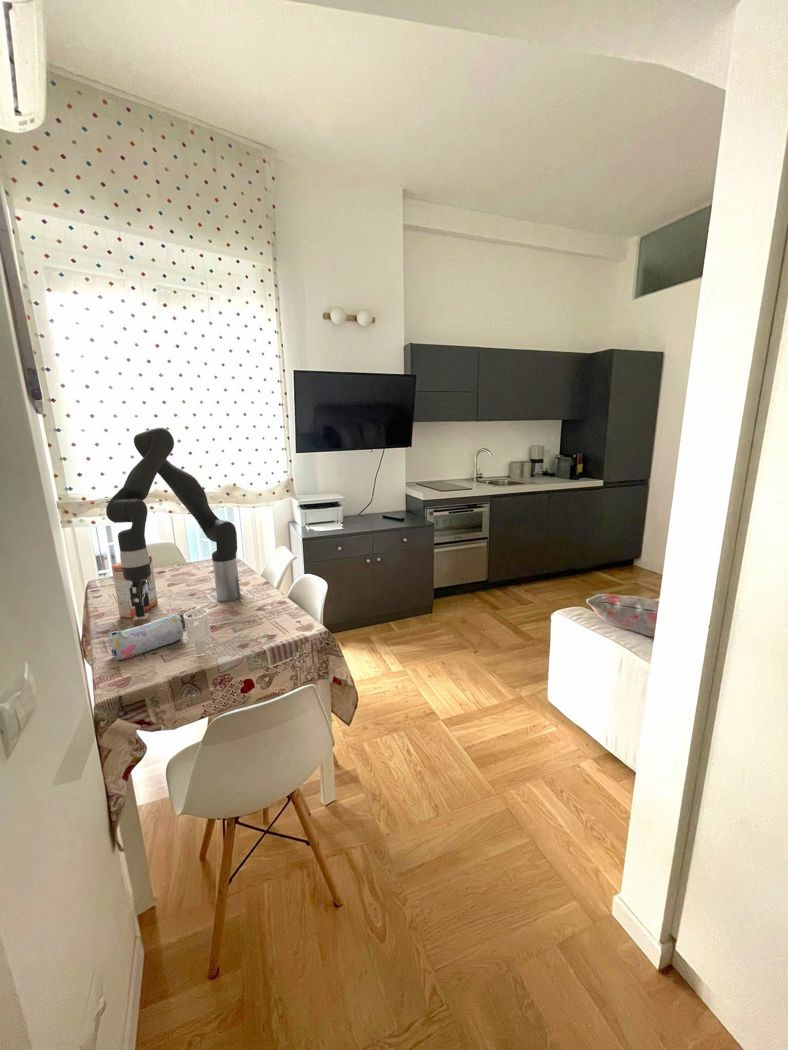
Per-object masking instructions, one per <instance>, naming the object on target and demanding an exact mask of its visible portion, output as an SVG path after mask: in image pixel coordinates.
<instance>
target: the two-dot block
mask: <svg viewBox="0 0 788 1050" xmlns="http://www.w3.org/2000/svg"><path fill="white" fill-rule="evenodd" d="M191 610H192V609H191V608H190V609H182V610H177V611H176V613H175V614H176V615H179V616H180V618H181V619H182V620H180V621H181V623H182V627H185V620H184V617H183V615H184V614H185V613H186V612H188V611H191ZM192 615H193V614H191V615H189V616H187V617H188V618H193V616H192Z"/></svg>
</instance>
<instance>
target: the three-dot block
mask: <svg viewBox="0 0 788 1050" xmlns="http://www.w3.org/2000/svg"><path fill="white" fill-rule="evenodd" d="M150 622H152V621H151V616H150V613H148V612H147V613H145V615H144V616H143V617H136V615H135V616H134V617H133V618H132V625H133V628H134V627H138V626H141V625H144V624H147V623H150Z"/></svg>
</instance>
